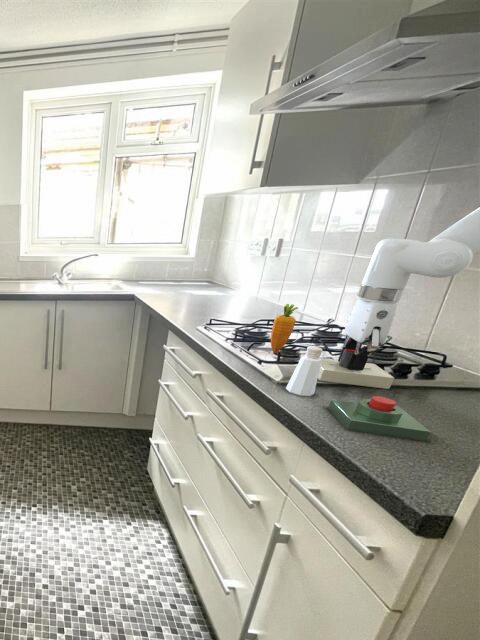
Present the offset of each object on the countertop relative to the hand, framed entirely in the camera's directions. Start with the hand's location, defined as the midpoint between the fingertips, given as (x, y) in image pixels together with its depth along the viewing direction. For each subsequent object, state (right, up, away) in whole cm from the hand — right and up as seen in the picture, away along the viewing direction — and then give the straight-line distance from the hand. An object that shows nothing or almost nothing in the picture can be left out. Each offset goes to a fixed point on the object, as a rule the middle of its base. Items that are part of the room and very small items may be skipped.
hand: (350, 365), depth 105 cm
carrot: (-6, +4, +18) cm, 20 cm away
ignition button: (-15, -10, -22) cm, 28 cm away
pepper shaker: (-18, -7, -7) cm, 21 cm away
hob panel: (0, -3, +1) cm, 3 cm away
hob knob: (0, 0, 0) cm, 0 cm away
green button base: (-15, -13, -21) cm, 29 cm away
